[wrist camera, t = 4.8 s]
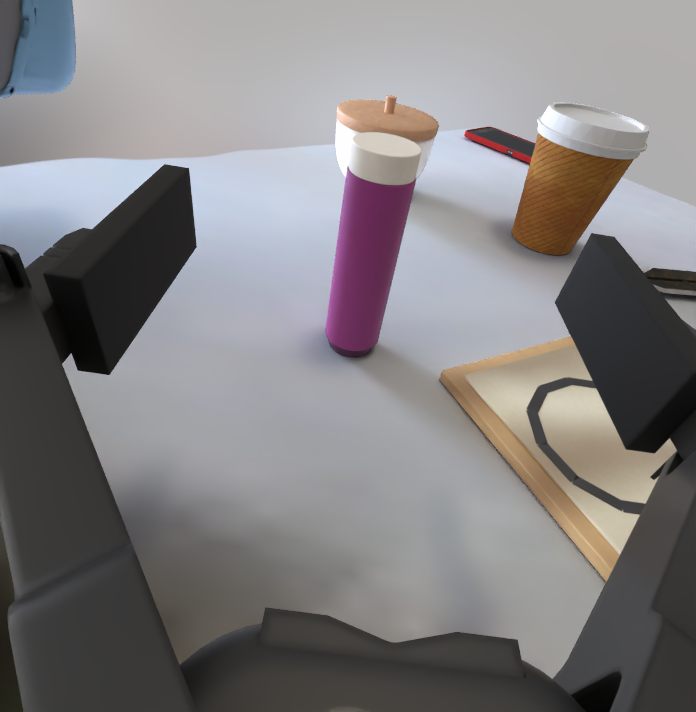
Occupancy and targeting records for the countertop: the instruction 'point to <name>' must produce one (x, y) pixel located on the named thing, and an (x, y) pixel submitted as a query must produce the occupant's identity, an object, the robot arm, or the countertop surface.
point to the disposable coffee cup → (573, 173)
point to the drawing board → (561, 442)
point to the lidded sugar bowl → (383, 126)
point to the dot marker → (369, 238)
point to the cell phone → (503, 142)
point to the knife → (683, 281)
